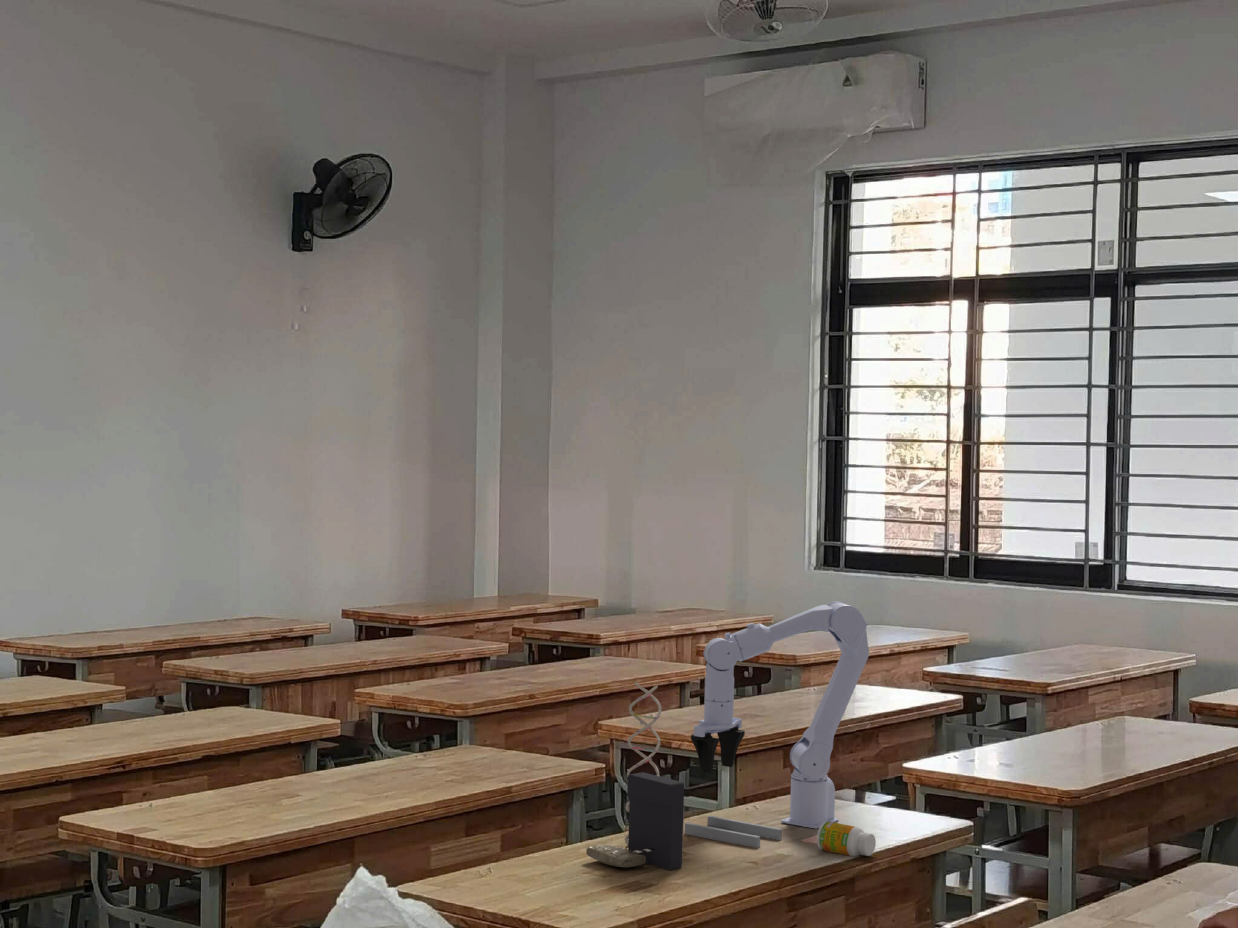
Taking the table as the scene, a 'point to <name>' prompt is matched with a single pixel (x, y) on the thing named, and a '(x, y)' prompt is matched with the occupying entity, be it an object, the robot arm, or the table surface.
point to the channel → (733, 831)
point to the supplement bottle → (845, 839)
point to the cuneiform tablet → (617, 855)
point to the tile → (811, 840)
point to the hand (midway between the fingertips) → (717, 768)
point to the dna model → (647, 726)
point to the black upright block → (656, 819)
